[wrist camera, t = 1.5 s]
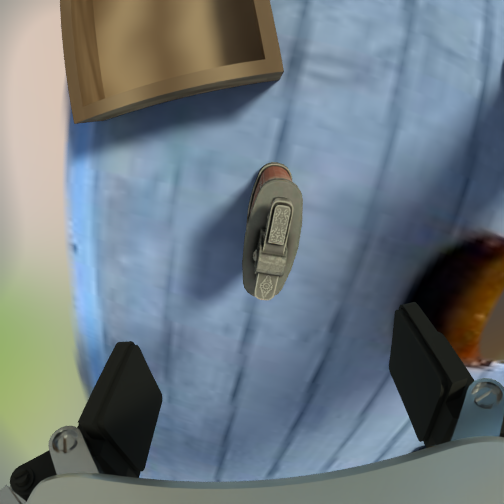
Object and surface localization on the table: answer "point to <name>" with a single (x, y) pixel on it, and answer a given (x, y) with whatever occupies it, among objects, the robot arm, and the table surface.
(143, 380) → the robot arm
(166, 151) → the table surface
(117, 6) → the walled box
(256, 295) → the lighter
